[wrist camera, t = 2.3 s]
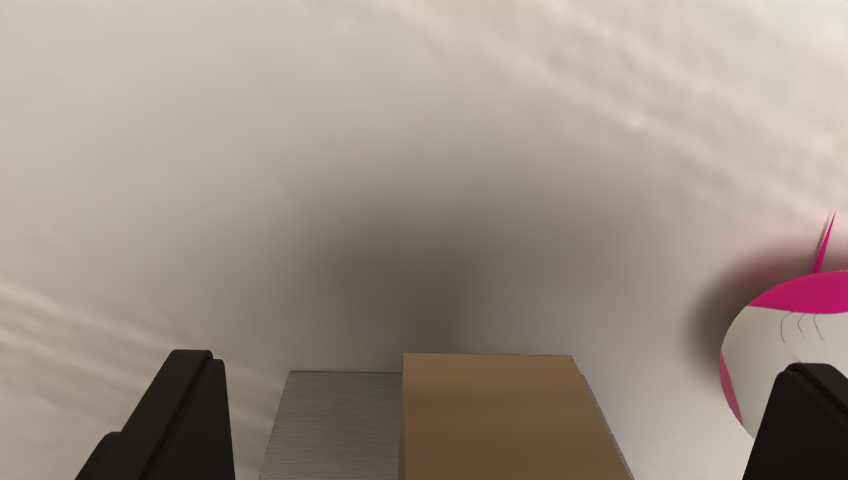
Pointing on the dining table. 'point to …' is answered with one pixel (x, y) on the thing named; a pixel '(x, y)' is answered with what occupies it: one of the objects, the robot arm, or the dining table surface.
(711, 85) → the dining table surface
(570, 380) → the shaft
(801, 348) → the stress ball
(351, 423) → the block
